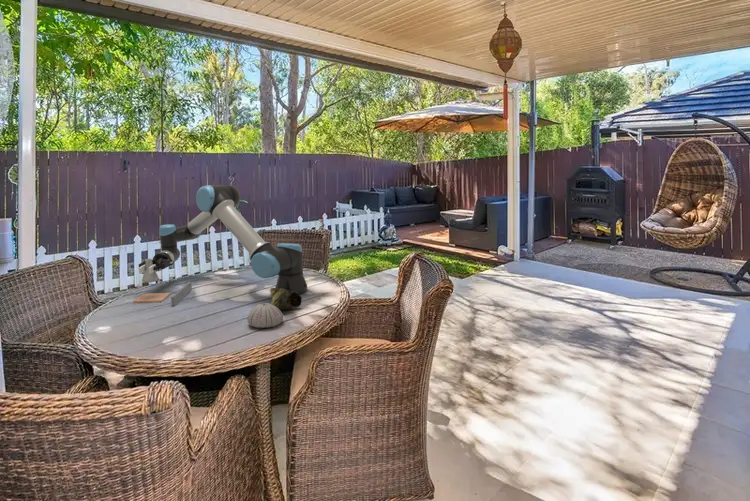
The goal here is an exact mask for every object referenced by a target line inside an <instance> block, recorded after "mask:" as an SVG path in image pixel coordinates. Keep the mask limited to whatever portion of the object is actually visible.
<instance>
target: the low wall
mask: <svg viewBox="0 0 750 501" xmlns="http://www.w3.org/2000/svg"><path fill="white" fill-rule="evenodd" d="M192 289H193V286H192V281H187V283H186V284H184V285H182V287H181V288H180V289H179V290H178V291H176V293H174V294H173V295H172V296H171V297H170V300H171V302H170V303H171V307H176V306H177V305H178V304H179V303H180V302H181V301H182V300H183V299H184V298H185V297H186V296H187V295H188V294H189V293H190V292H191V291H192Z"/></svg>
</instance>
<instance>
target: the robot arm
mask: <svg viewBox="0 0 750 501" xmlns="http://www.w3.org/2000/svg"><path fill="white" fill-rule="evenodd" d="M239 191H240V190H239V189H237V187H235V186H234V185H232V184H215V185H214V184H212V185H210V184H207V185H203V186H201V187H199V189H198V190H197V192H196V196H195V199H196V200H195V203H196V206H197V208H198V209H199V211H201V212H200V213H199V214H198V215H197V216H195V217H194V218H193V219H191V221H189V222H188V223H186V225H184V226H177V227H176V225H175V224H162V225H160V226H159V233H158V234H159V239H160V252H158V253H156V254H154V256H153V257H152V259H153V261H152V264H153V265H152V266H150V267H149V274H151V273H153V272H154V271H156V272H157V271H160V269H161V270H165V269H167V268H169V267H170V266H173V265H174V263H175V262H177V261H178V259H179V258H180V257H181V251H180V249H179V248H178V243H180V242H184V241H191V240H195V239H198V238H199V237H201V233H202V232H203V231H204V230H206V229H207V228H208V227H210V226H211V225H212V224H213V223H215V222H216V221H217V220H220V221H221V222H222V223H223V225H224V227H226V228H227V230H228V231H229V232H230V233H231V234H232V235H233V237H235V238H236V240H237V241H238V242H239V243H240V245H242V246H243V249H245V250H246V251H247V253H249V260H250V266H251V270H252V271H253V273H254V274H255V275H256V276H258V277H259V278H262V279H269V278H275V277H277V280H276V282H275V287H274V288H278V289H286V290H287V291H288V292H292V291H295V292H297V293H298V294H300V295H301V294H304V292H305V293H307V291H308V284H307V282H306V279H305V276H304V267H303V266H304V265H303V264H304V263H303V261H304V260H303V247H302V245H301V244H299V243H290V242H289V243H288V242H287V243H286V242H285V243H284V242H283V243H282V242H281V243H277V244H276V248H275V246H274V245H273V244H272V243H271V242H270V241H265V240H264V239H263V237H261V236H260V235H259V233H258V232H257V231H256V230H255V229H254V228H253V226H252V225H251V224H250V223H249V222H248V221H247V219H246V218H244V216H243V215H242V214H241V213H240V212H239V211H238V210H237V207H238V205H239V204H240V203H241V194H240V192H239ZM145 266H146V262H145V259H144V260H142V261H141V262H140V263H139V264H138V274H139V275H141V274H144V272H145Z"/></svg>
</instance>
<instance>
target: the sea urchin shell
mask: <svg viewBox="0 0 750 501" xmlns="http://www.w3.org/2000/svg"><path fill="white" fill-rule="evenodd" d="M246 320H247V321H246V322H247V323H248V325H250V326H251V327H254V328H259V329H260V328H261V329H264V328H267V329H268V328H271V327H272V328H273V327H276V326H279V325H280V324H281V323H282V322H283V320H284V315H283V313H282V310H279V309H278V308H277V307H276V306H274V305H272V304H271V303H269V302H266V303H258V304H257V305H255V306H254V307H253V308H252V309H251V310H250V311H249V313H248V315H247V317H246Z"/></svg>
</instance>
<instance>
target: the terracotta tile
mask: <svg viewBox="0 0 750 501" xmlns="http://www.w3.org/2000/svg"><path fill="white" fill-rule="evenodd" d="M171 295H172V292H158V293H157V292H156V293H152V292H151V293H143V294H142V295H140V296H139V297H138V298H136V299H135V300H133V302H132V303H133V304H144V303H163V302H164V301H165V300H166V299H168V297H170V296H171ZM162 301H163V302H162Z"/></svg>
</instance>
